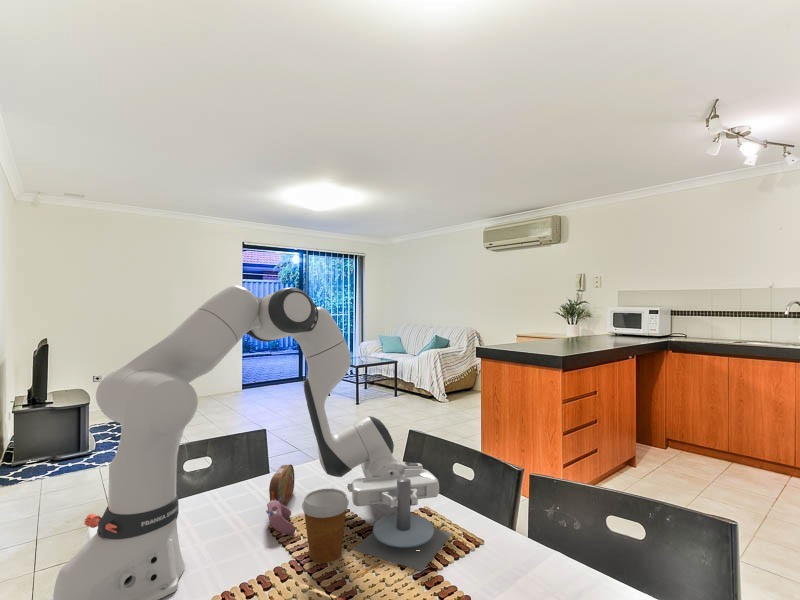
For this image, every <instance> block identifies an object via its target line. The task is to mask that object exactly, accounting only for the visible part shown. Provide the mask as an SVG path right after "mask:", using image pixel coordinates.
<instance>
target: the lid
mask: <svg viewBox="0 0 800 600" xmlns="http://www.w3.org/2000/svg"><path fill="white" fill-rule="evenodd" d="M397 499H398V507H396V513H393V514H388V515H385V516H382V517H381V518H379V519H378V520H377V521H375V522H374V524H373V527H372V533H373V534H374V536H375V538H376V539H377V540H379V541H380V542H382V543H384V544H386V545H389V546H394V547H414V546H419V545H422V544H424V543H426V542H428V541H429V540H430V539H431V538H432V537H433V534H434V529H435V528H434V525H433V523H432V522H431V521H430V520H429V519H427V518H425V517H423V516H421V515H418V514H413V513H411V480H410V479H408V478H399V479H397Z"/></svg>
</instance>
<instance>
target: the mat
mask: <svg viewBox="0 0 800 600" xmlns="http://www.w3.org/2000/svg"><path fill="white" fill-rule="evenodd" d="M453 534H454V533H453V532H449V531H447V530H442V529H437V528H434V534H433V537H432V538H431V539H430V540H429V541H428V542H426V543H424V544H422V545H419V546H414V547H394V546H389V545H386V544H384V543H382V542H380V541H379V540H377V539H376V538H375V536H374V534H373V532H371V533H370V534H369V535H368V536H367V537H365V538H364V539H363V540H362V541H361V542H359V543H358V544H357V545H355V547H353V549H352V551H356V552H359V553H362V554H365V555H369V556H372V557H375V558H377V559H381V560H385V561H387V562H392V563H394V564H398V565H401V566H404V567H407V568H411V569H413V570H416V571H420V572H423V571H424V570H425V568H426V567H428V566H429V563H430V562H431V561H432V560H433V559H434V557H435V556H436V555H437V553H438V552H439V551H440V550H441V549H442V548H443V546H444V545H445V543H447V542H448V540H449V539H450V537H451V536H452V535H453ZM416 550H420V551H416Z"/></svg>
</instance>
